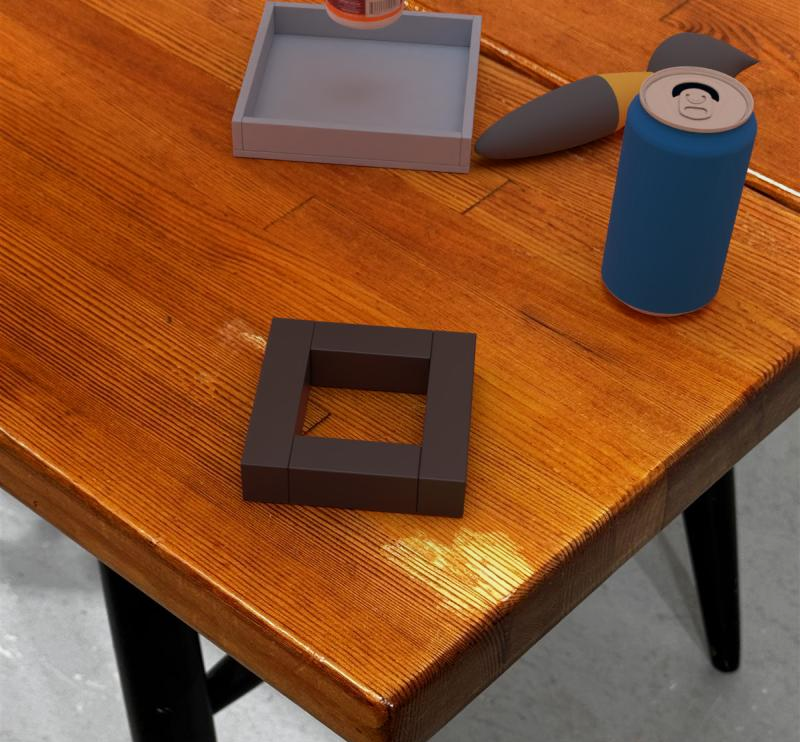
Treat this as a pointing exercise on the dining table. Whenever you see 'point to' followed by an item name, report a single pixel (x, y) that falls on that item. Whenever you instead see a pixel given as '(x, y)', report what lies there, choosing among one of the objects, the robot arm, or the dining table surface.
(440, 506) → the frame
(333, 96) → the tray
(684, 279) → the beverage can
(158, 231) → the dining table surface
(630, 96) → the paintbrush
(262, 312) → the dining table surface
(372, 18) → the pill bottle
